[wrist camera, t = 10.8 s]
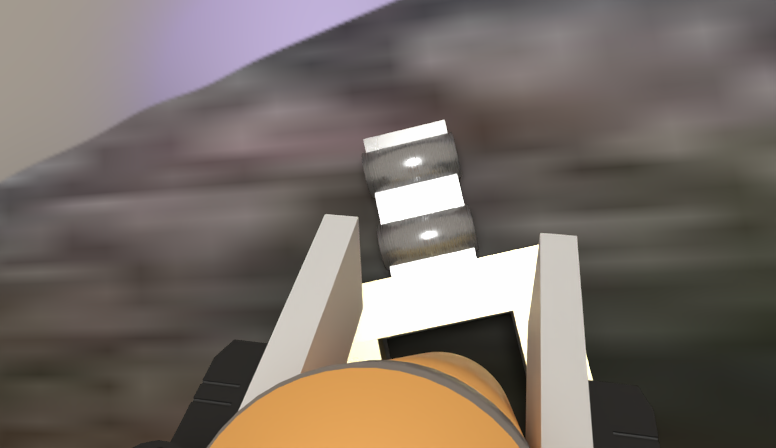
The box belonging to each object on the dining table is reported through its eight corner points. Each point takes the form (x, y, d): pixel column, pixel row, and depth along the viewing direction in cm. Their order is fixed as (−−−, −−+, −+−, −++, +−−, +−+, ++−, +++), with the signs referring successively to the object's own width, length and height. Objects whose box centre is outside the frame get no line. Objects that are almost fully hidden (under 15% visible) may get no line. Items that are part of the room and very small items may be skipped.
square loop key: (515, 112, 34) (518, 89, 31) (655, 662, 29) (675, 701, 26) (302, 163, 35) (284, 146, 32) (402, 701, 30) (392, 743, 27)
